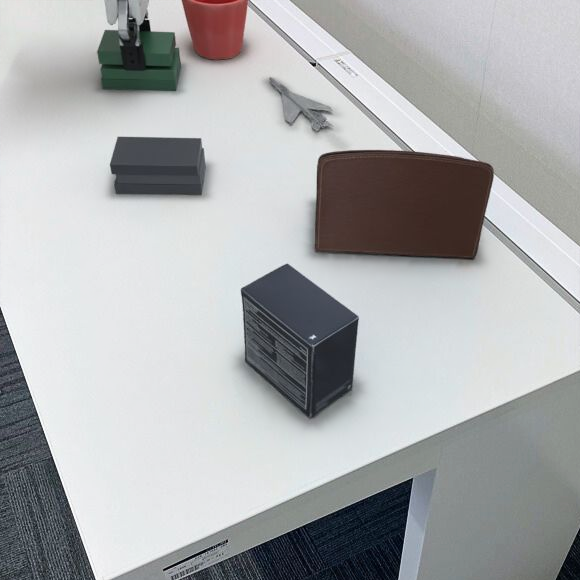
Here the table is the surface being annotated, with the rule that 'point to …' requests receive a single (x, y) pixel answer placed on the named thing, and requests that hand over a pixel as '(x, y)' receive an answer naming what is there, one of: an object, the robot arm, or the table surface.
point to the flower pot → (216, 26)
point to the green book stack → (142, 76)
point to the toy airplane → (301, 107)
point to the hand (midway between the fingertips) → (138, 56)
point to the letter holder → (400, 203)
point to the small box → (299, 338)
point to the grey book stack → (158, 165)
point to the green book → (154, 46)
